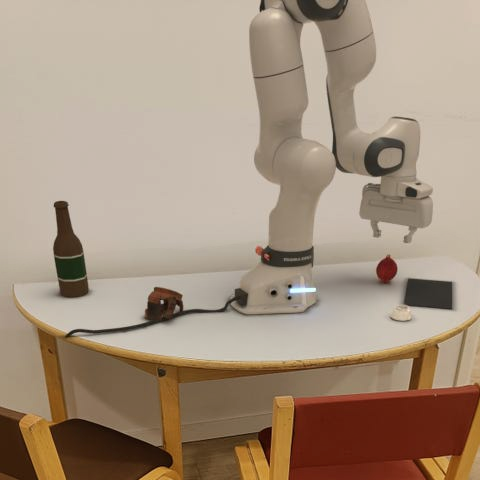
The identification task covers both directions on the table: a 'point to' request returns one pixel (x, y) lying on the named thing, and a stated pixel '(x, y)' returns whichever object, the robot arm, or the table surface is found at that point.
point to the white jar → (401, 313)
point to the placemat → (429, 293)
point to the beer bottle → (69, 255)
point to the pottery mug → (169, 305)
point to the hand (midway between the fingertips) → (391, 239)
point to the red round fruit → (386, 269)
